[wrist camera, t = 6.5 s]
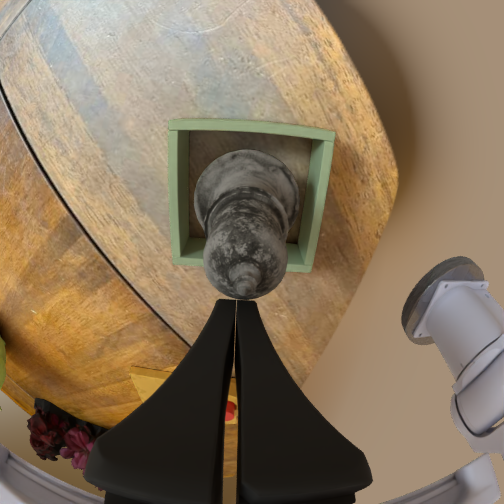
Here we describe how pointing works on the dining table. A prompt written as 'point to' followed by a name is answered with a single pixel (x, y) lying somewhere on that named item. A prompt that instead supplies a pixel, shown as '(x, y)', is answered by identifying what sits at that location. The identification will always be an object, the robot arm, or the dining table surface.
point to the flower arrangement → (61, 434)
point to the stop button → (230, 411)
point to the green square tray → (322, 144)
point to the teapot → (2, 362)
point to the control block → (153, 379)
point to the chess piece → (246, 221)
